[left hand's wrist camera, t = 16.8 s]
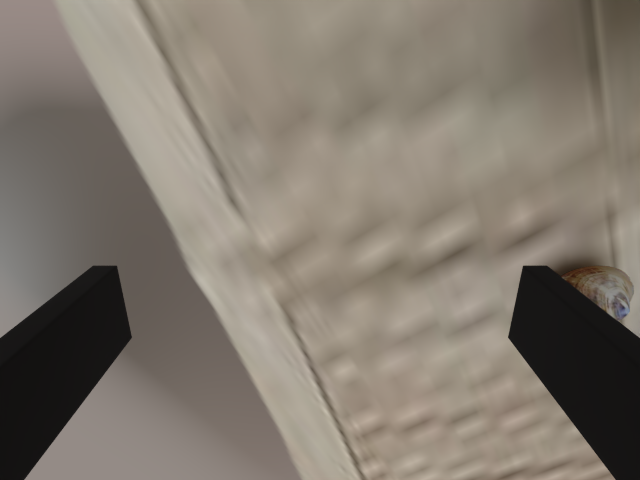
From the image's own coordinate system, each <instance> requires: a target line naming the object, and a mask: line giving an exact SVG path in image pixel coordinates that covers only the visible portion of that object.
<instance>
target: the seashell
mask: <svg viewBox="0 0 640 480" xmlns="http://www.w3.org/2000/svg"><path fill="white" fill-rule="evenodd" d="M561 277H562V278H563V279H564V280H566V281H567V282H568V283H570V284H571V285H572V286H573V287H575V288H576V289H577V290H579V291H580V292H581V293H582V294H584V295H585V296H586V297H588V298H589V299H590V300H591V301H593V302H594V303H595V304H597V305H598V306H599V307H600V308H602V309H603V310H604V311H606V312H607V313H608V314H609V315H611V316H612V317H613V318H615V319H616V320H617V321H619V320H621V319H623V318H624V317H626V316H627V315H628V313H629V312H630V301H631V299H632V297H633V293H634V287H633V284H632V282H631V280H630V278H629V276H628V275H627V274H626V273H625V272H623V271H622V270H619V269H617V268H613V267H607V266H590V267H583V268H579V269H575V270H572V271H570V272H568V273H566V274H564V275H562V276H561Z"/></svg>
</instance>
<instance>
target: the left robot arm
mask: <svg viewBox="0 0 640 480" xmlns="http://www.w3.org/2000/svg"><path fill="white" fill-rule="evenodd" d="M131 338H132V336H131V331H130V327H129V322H128V317H127V312H126V307H125V303H124V298H123V293H122V288H121V283H120V278H119V274H118V269H117V266H92V267H91V268H90V269H88V270H87V271H86V272H85V273H83V274H82V275H81V276H79V277H78V278H77V279H76V280H74V281H73V282H72V283H70V284H69V285H68V286H67V287H65V288H64V289H63V290H61V291H60V292H59V293H58V294H56V295H55V296H54V297H52V298H51V299H50V300H49V301H47V302H46V303H45V304H43V305H42V306H41V307H40V308H38V309H37V310H36V311H34V312H33V313H32V314H31V315H29V316H28V317H27V318H25V319H24V320H23V321H22V322H20V323H19V324H18V325H17V326H15V327H14V328H13V329H11V330H10V331H9V332H7V333H6V334H5V335H4V336H2V337H1V338H0V480H24V479H25V478H26V477H27V475H28V474H29V473H30V471H31V470H32V469H33V467H34V466H35V465H36V463H37V462H38V461H39V459H40V458H41V457H42V455H43V454H44V453H45V452H46V450H47V449H48V448H49V446H50V445H51V444H52V442H53V441H54V440H55V438H56V437H57V436H58V434H59V433H60V432H61V430H62V429H63V428H64V426H65V425H66V424H67V422H68V421H69V420H70V419H71V417H72V416H73V415H74V413H75V412H76V411H77V409H78V408H79V407H80V405H81V404H82V403H83V401H84V400H85V399H86V397H87V396H88V395H89V393H90V392H91V391H92V389H93V388H94V387H95V386H96V384H97V383H98V381H99V380H100V379H101V378H102V376H103V375H104V374H105V372H106V371H107V370H108V368H109V367H110V366H111V364H112V363H113V362H114V360H115V359H116V358H117V356H118V355H119V354H120V353H121V351H122V350H123V348H124V347H125V346H126V345H127V343H128V342H129V341H130V339H131ZM508 338H509V339H510V341H511V342H512V343H513V345H514V346H515V347H516V349H517V350H518V351H519V353H520V354H521V355H522V356H523V358H524V359H525V360H526V362H527V363H528V364H529V366H530V367H531V368H532V370H533V371H534V372H535V374H536V375H537V376H538V378H539V379H540V380H541V382H542V383H543V384H544V386H545V387H546V388H547V389H548V391H549V392H550V393H551V395H552V396H553V397H554V399H555V400H556V401H557V403H558V404H559V405H560V407H561V408H562V409H563V411H564V412H565V413H566V415H567V416H568V417H569V419H570V420H571V421H572V422H573V424H574V425H575V426H576V428H577V429H578V430H579V432H580V433H581V434H582V436H583V437H584V438H585V440H586V441H587V442H588V444H589V445H590V446H591V448H592V449H593V450H594V452H595V453H596V454H597V455H598V457H599V458H600V459H601V461H602V462H603V463H604V465H605V466H606V467H607V469H608V470H609V471H610V473H611V474H612V475H613V477H614V478H615V479H616V480H640V338H639V337H638V336H636V335H635V334H634V333H633V332H631V331H630V330H629V329H627V328H626V327H625V326H624V325H622V324H621V323H620V322H618V321H617V320H616V319H615V318H613V317H612V316H611V315H609V314H608V313H607V312H606V311H604V310H603V309H602V308H600V307H599V306H598V305H597V304H595V303H594V302H593V301H591V300H590V299H589V298H588V297H586V296H585V295H584V294H582V293H581V292H580V291H579V290H577V289H576V288H575V287H573V286H572V285H571V284H570V283H568V282H567V281H566V280H564V279H563V278H562V277H561V276H559V275H558V274H557V273H555V272H554V271H553V270H552V269H550V268H549V267H548V266H523V269H522V274H521V278H520V283H519V288H518V293H517V298H516V302H515V307H514V312H513V317H512V322H511V326H510V331H509V336H508Z"/></svg>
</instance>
